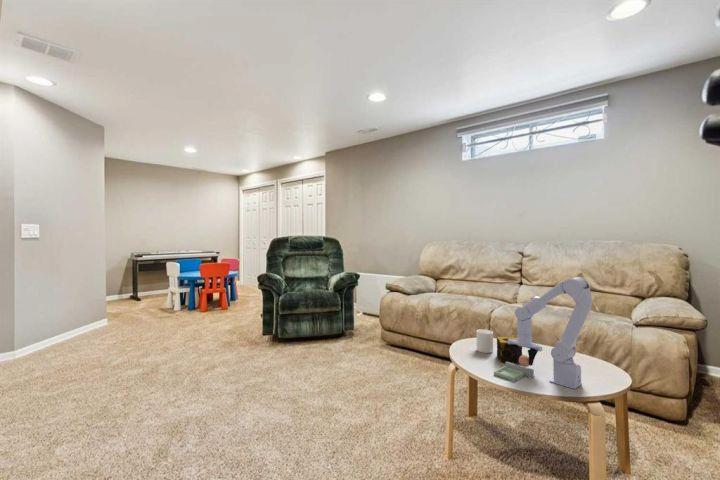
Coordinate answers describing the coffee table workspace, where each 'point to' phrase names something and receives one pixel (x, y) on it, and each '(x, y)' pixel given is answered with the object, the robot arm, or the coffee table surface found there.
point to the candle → (506, 350)
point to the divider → (521, 369)
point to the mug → (485, 341)
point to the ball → (524, 360)
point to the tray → (509, 373)
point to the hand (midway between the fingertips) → (524, 363)
